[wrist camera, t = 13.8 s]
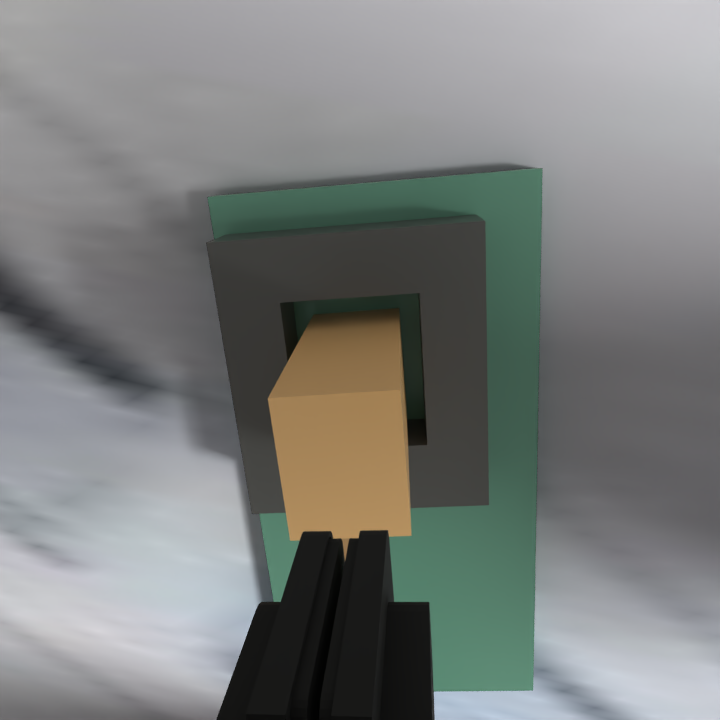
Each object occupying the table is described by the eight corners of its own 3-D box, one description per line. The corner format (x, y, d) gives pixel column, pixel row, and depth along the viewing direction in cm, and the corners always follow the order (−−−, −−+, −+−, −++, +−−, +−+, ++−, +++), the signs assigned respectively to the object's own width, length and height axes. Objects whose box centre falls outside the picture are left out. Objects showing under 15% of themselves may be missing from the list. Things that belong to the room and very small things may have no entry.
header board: (535, 168, 23) (560, 169, 19) (527, 671, 31) (544, 735, 28) (216, 195, 24) (185, 201, 20) (292, 674, 32) (279, 736, 29)
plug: (399, 308, 24) (400, 389, 15) (408, 430, 26) (413, 564, 17) (313, 314, 24) (267, 398, 16) (328, 434, 26) (294, 568, 17)
